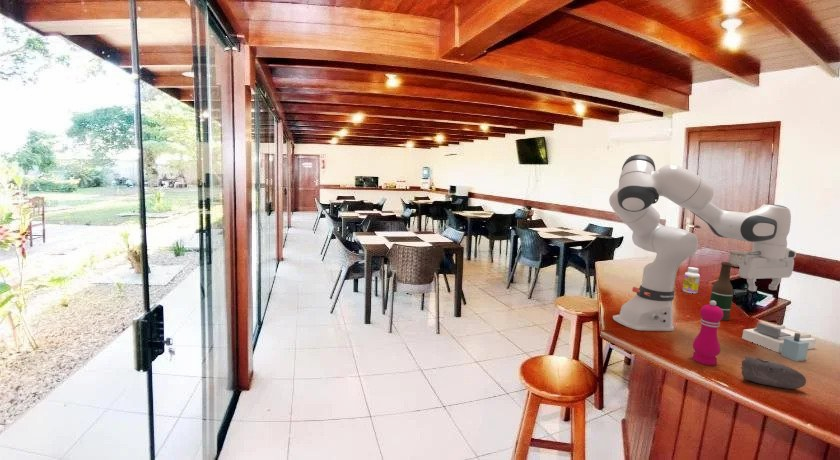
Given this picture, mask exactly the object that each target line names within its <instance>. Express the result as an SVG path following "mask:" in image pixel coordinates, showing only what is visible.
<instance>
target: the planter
mask: <svg viewBox="0 0 840 460" xmlns="http://www.w3.org/2000/svg"><path fill="white" fill-rule="evenodd" d="M747 253H748V251H747V252H744V251H738V250H730V252H729V257H728V262H729V263H731V264H732V266H731V267H733V266H734V267H733V268H735V267H739V268H740V265H741V261H742V259H743V258H744V256H745V255H746V254H747ZM739 268H738V269H739Z"/></svg>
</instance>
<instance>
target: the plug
mask: <svg viewBox="0 0 840 460" xmlns="http://www.w3.org/2000/svg"><path fill="white" fill-rule="evenodd" d="M801 334H802V333H798V332H796V333H795V335H794V338H784V343H783V348H782V352H781V357H784V358H787V359H790V360H793V361H795V362H801V361H806V359H807V355H808V350H809V349H808V345H809V343H808V342H805V341H802V340H800V335H801Z"/></svg>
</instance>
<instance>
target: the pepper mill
mask: <svg viewBox="0 0 840 460" xmlns="http://www.w3.org/2000/svg"><path fill="white" fill-rule="evenodd" d="M709 304H710V305H709ZM709 304H704V305H703V306H701V307H700V310H699V316H701V318H700V324H701V325H700V326H701V327H700V330H699V333H698V334H697V336H696V337H695V338H694V340H693V342H692V349H693V350H694V351H693V354H692V359H693V360H694V361H696V362H697V363H700V364H703V365H707V366H715V365H716V364H717V361H718V358H717V356H718V355H720V353H721V345H720V343H719V339H718V329H719V327H720V326H721V322H720V321H722V320H721V319H722V318H723V311H722V309H721V308H719V307H718V306H715V305H716V304H717V303H716V301H714V300H712V301H710V300H709Z"/></svg>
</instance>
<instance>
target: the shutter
mask: <svg viewBox="0 0 840 460" xmlns="http://www.w3.org/2000/svg"><path fill="white" fill-rule="evenodd" d="M756 324H757V325H756V328H757V329H756V331H758V332H760V333H763V334H766V335H769V336H771V337H774V338H778V337H784V336H791V335H790V334H787V333H784V332H781V329H778V328H775V327H773V326H771V325H769V324H765V323H763V322H757V323H756Z"/></svg>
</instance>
